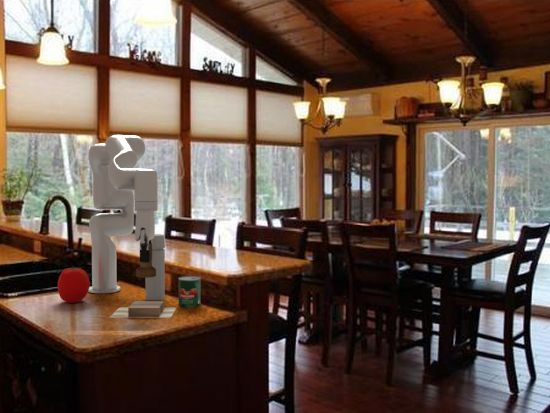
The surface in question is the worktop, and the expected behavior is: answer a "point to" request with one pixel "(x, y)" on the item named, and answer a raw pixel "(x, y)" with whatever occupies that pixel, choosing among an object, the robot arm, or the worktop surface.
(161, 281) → the water bottle
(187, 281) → the canned tomato
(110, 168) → the robot arm
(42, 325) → the worktop surface
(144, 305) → the walnut base block
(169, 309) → the birch board
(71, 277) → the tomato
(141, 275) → the brown wooden pepper mill
